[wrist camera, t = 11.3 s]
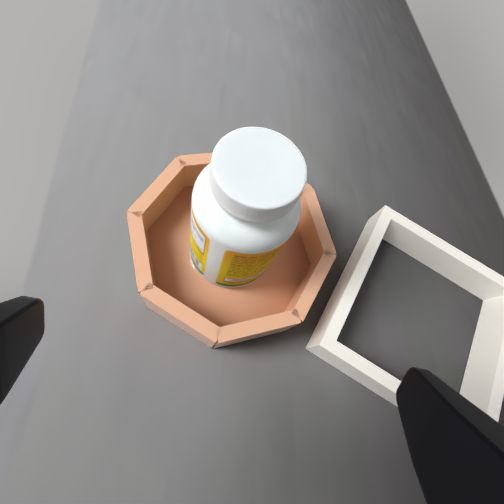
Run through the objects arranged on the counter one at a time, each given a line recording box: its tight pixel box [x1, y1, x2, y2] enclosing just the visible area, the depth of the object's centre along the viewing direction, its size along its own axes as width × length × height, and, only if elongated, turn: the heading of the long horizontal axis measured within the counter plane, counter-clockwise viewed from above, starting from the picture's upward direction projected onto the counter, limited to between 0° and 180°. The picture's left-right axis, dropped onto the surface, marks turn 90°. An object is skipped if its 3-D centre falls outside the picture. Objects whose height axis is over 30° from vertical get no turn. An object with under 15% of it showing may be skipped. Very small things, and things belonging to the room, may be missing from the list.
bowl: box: [127, 153, 337, 349], centre depth 21 cm, size 12×12×4 cm
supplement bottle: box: [190, 127, 307, 288], centre depth 17 cm, size 5×5×10 cm
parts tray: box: [305, 205, 504, 422], centre depth 22 cm, size 12×12×2 cm
